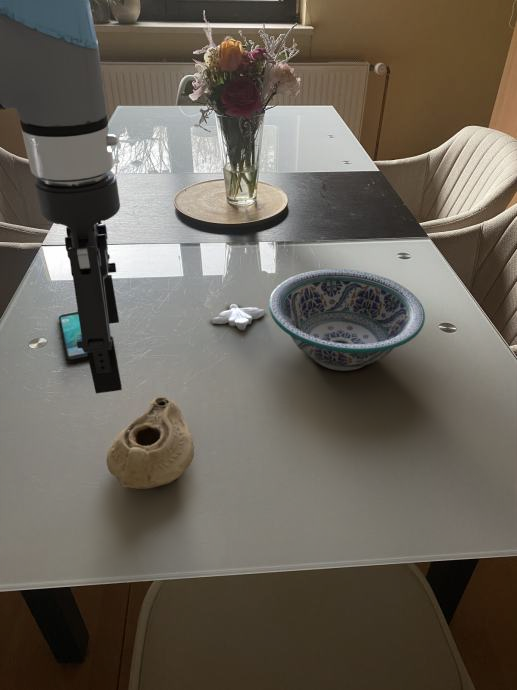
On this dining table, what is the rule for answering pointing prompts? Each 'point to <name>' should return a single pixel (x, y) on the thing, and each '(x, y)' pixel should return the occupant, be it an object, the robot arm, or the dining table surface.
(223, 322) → the acanthus leaf ornament
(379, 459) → the dining table surface
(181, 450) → the oil lamp
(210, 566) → the dining table surface
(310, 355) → the bowl
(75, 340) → the smartphone
